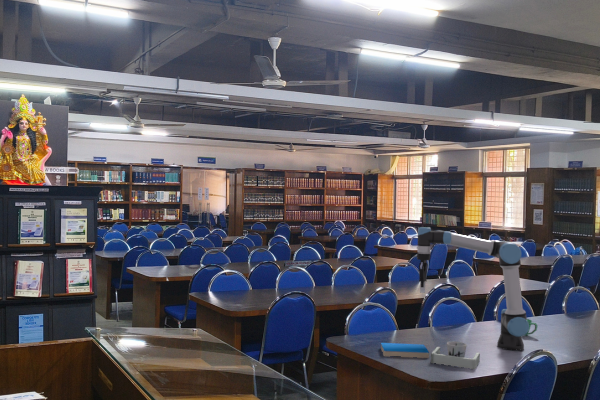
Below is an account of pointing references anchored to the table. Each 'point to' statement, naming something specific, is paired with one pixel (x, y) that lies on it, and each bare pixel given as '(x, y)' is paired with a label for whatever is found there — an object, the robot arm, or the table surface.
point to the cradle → (454, 360)
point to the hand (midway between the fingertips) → (422, 292)
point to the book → (404, 350)
